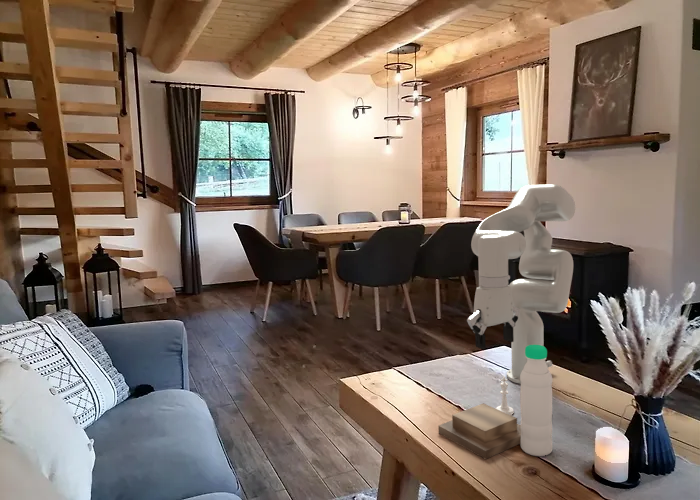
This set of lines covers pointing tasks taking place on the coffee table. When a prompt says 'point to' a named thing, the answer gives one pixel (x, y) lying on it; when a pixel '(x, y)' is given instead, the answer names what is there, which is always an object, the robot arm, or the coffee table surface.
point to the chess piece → (504, 399)
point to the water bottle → (536, 403)
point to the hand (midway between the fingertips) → (494, 344)
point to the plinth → (478, 444)
